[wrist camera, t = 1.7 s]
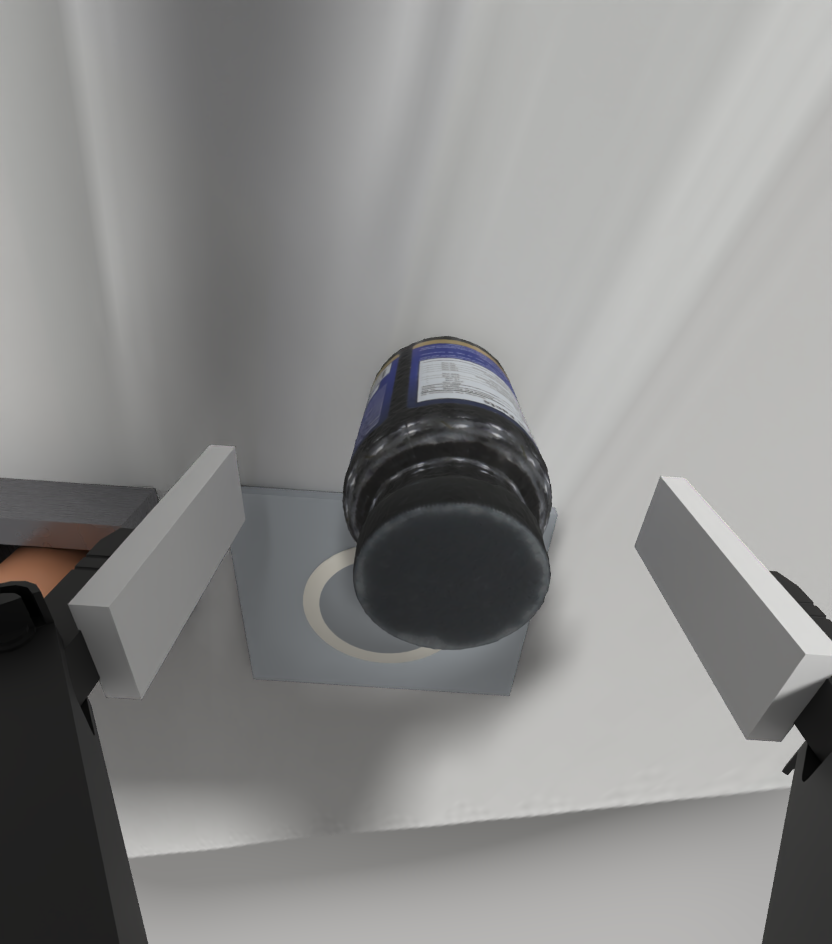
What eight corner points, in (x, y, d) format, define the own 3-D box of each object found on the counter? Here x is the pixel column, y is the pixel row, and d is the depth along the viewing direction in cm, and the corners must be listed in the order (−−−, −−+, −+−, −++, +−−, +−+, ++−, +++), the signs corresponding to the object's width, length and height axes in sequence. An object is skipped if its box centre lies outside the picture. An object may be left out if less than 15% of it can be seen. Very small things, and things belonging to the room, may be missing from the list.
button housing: (-31, 475, 23) (-88, 512, 21) (155, 488, 23) (120, 526, 21) (33, 607, 28) (-7, 650, 25) (188, 617, 28) (163, 661, 25)
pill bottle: (418, 485, 23) (409, 697, 13) (341, 381, 20) (262, 553, 11) (537, 423, 21) (622, 618, 12) (469, 301, 18) (508, 423, 9)
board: (225, 484, 23) (220, 493, 23) (554, 507, 23) (558, 516, 23) (256, 670, 30) (253, 680, 30) (508, 687, 30) (509, 697, 30)
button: (-2, 534, 23) (-103, 615, 19) (103, 541, 23) (27, 623, 19) (34, 608, 25) (-47, 694, 21) (129, 615, 25) (67, 702, 21)
